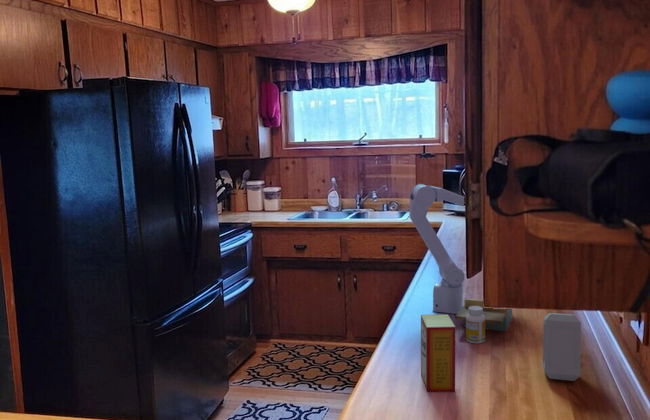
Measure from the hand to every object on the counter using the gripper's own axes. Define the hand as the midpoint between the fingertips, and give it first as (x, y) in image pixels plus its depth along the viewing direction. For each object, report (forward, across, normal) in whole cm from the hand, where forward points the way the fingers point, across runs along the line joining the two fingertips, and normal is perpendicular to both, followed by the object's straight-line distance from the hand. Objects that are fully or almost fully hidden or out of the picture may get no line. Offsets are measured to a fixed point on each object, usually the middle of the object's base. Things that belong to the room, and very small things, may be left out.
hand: (495, 280), depth 197 cm
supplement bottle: (+10, -33, 0) cm, 34 cm away
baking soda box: (+10, -65, +2) cm, 66 cm away
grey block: (+10, -40, -23) cm, 47 cm away
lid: (+5, -25, -1) cm, 25 cm away
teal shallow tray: (+10, -16, 0) cm, 19 cm away
